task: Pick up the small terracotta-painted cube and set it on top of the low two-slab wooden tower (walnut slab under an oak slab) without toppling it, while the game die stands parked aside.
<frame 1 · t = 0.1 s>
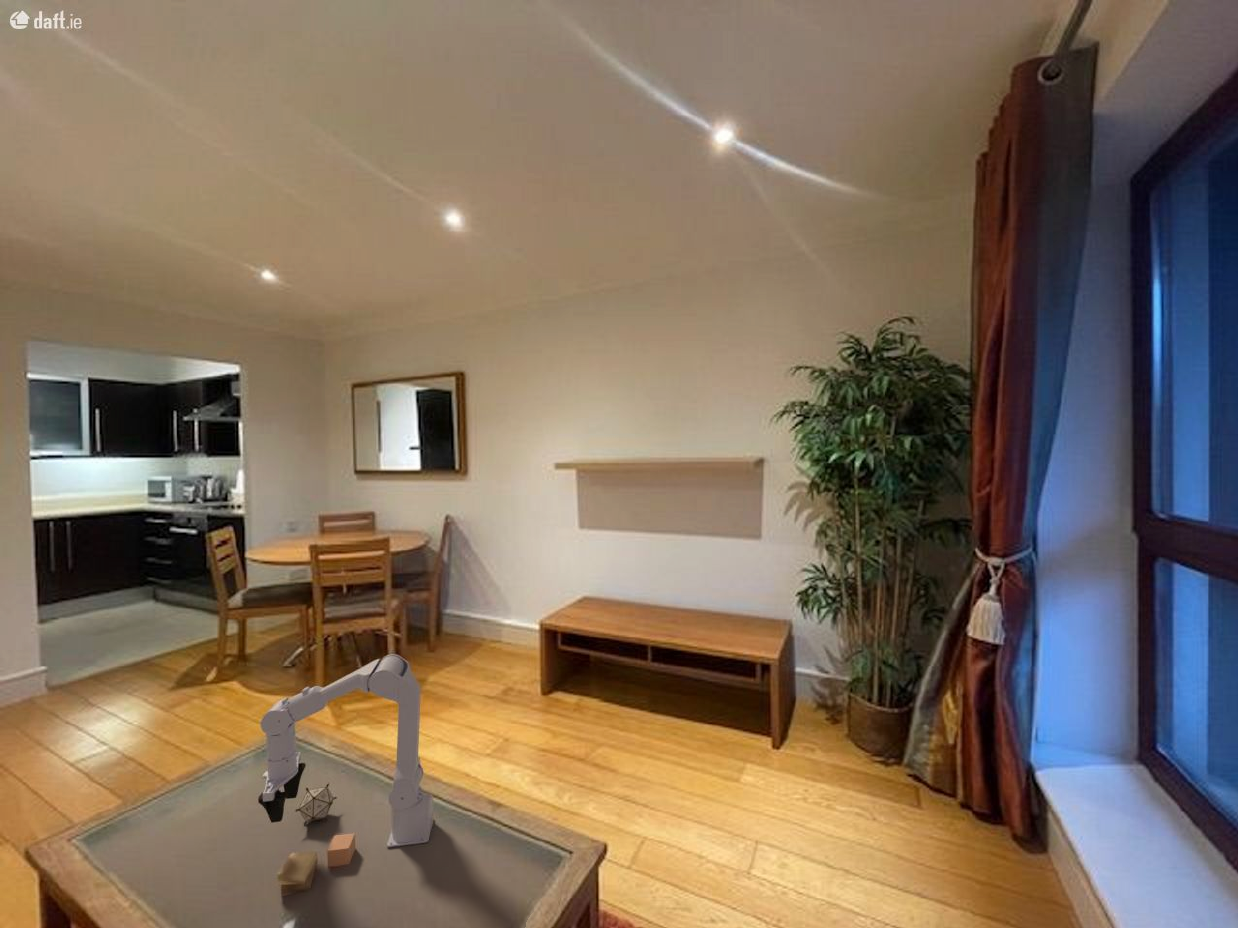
hand: (284, 808, 122), 10 cm above the table, fingers open, 7 cm apart
oak slab: (298, 873, 114), point 2 cm above the table, touching walnut slab
walnut slab: (299, 883, 114), on the table, touching oak slab
game die: (317, 819, 133), on the table
terracotta block: (341, 857, 121), on the table
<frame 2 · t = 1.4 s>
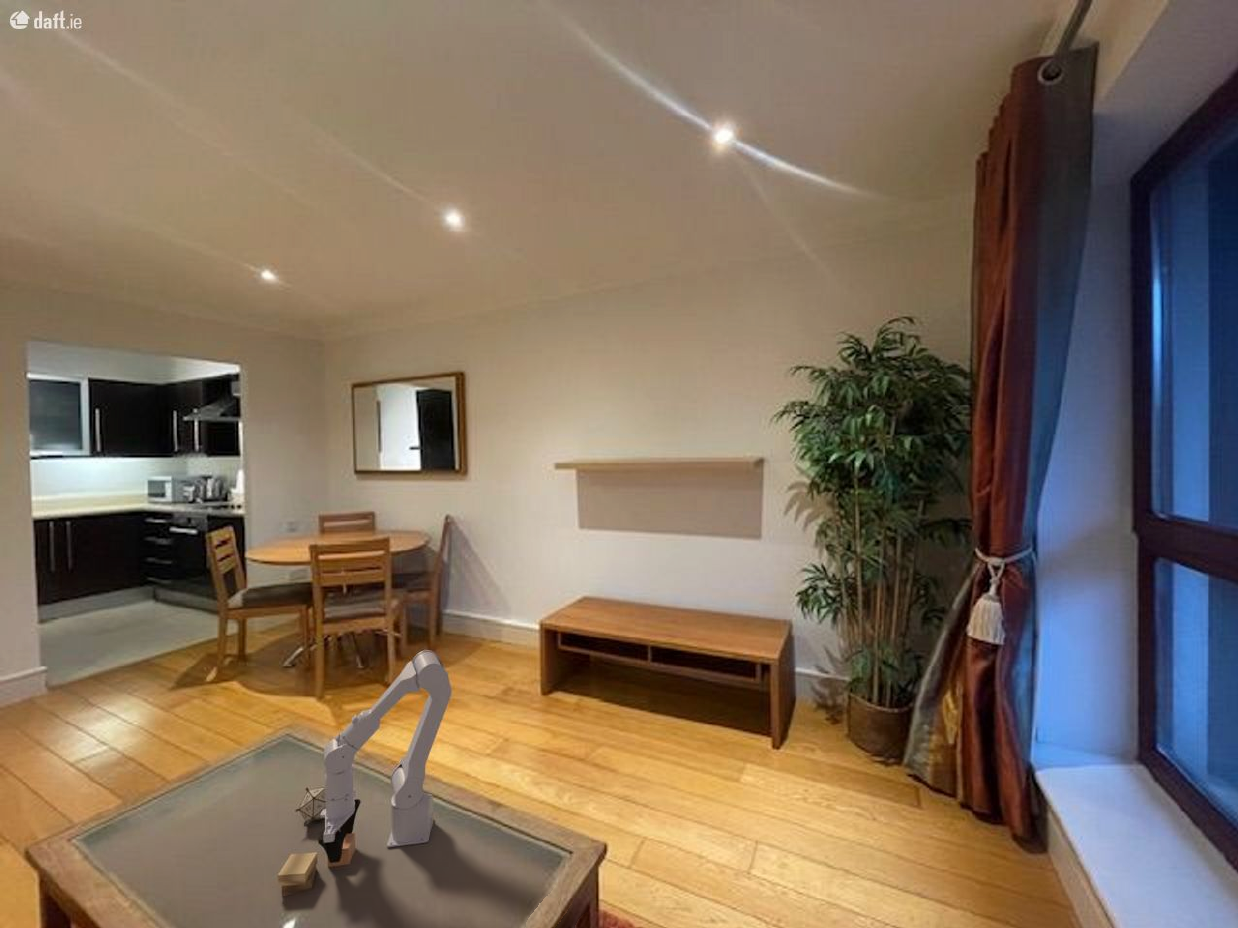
hand: (341, 847, 120), 2 cm above the table, fingers open, 7 cm apart
oak slab: (298, 874, 114), point 2 cm above the table
walnut slab: (299, 883, 114), on the table
everything else where it was.
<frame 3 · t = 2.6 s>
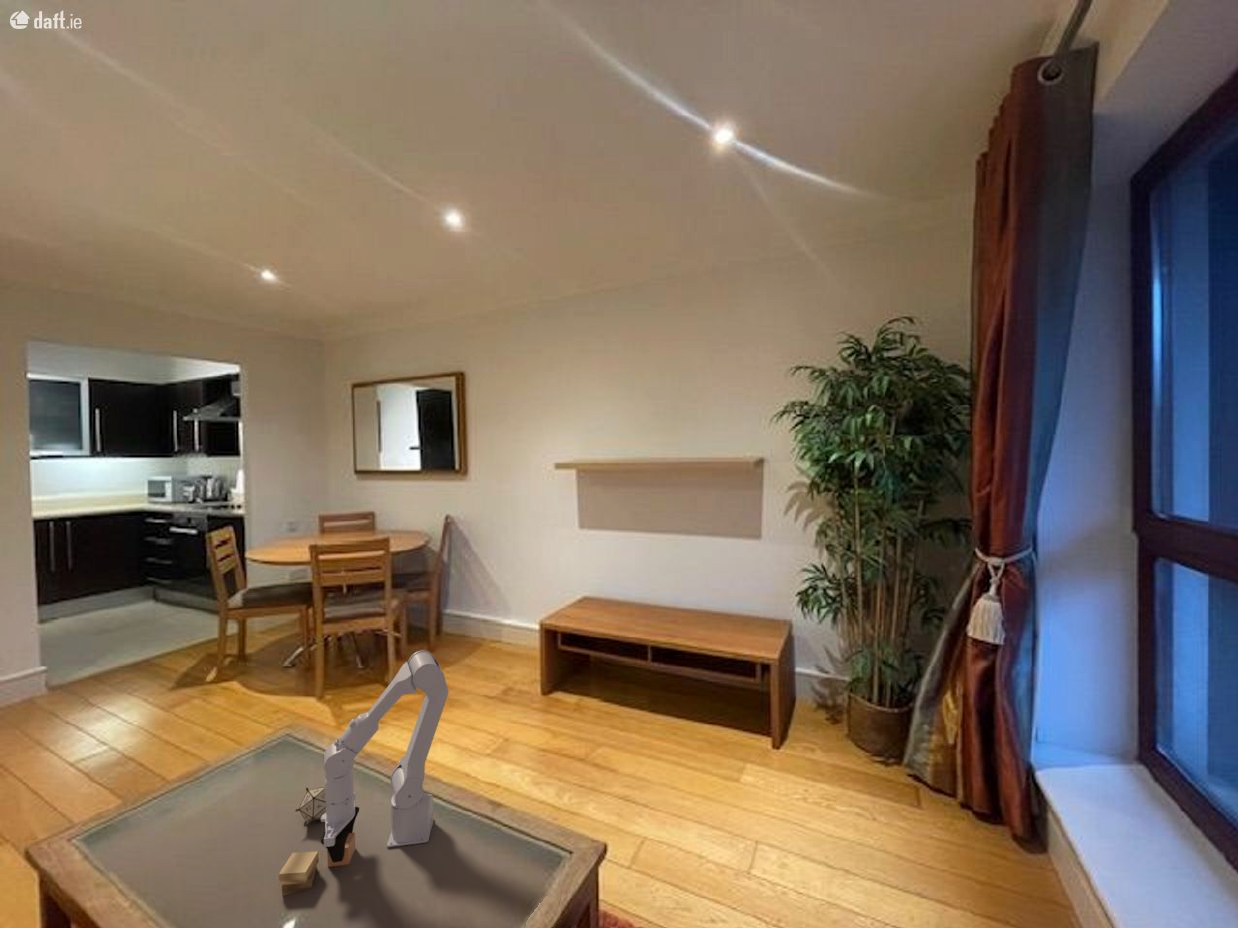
hand: (341, 851, 121), 1 cm above the table, fingers closed on terracotta block, 4 cm apart
terracotta block: (341, 857, 121), on the table, touching gripper
everything else where it was.
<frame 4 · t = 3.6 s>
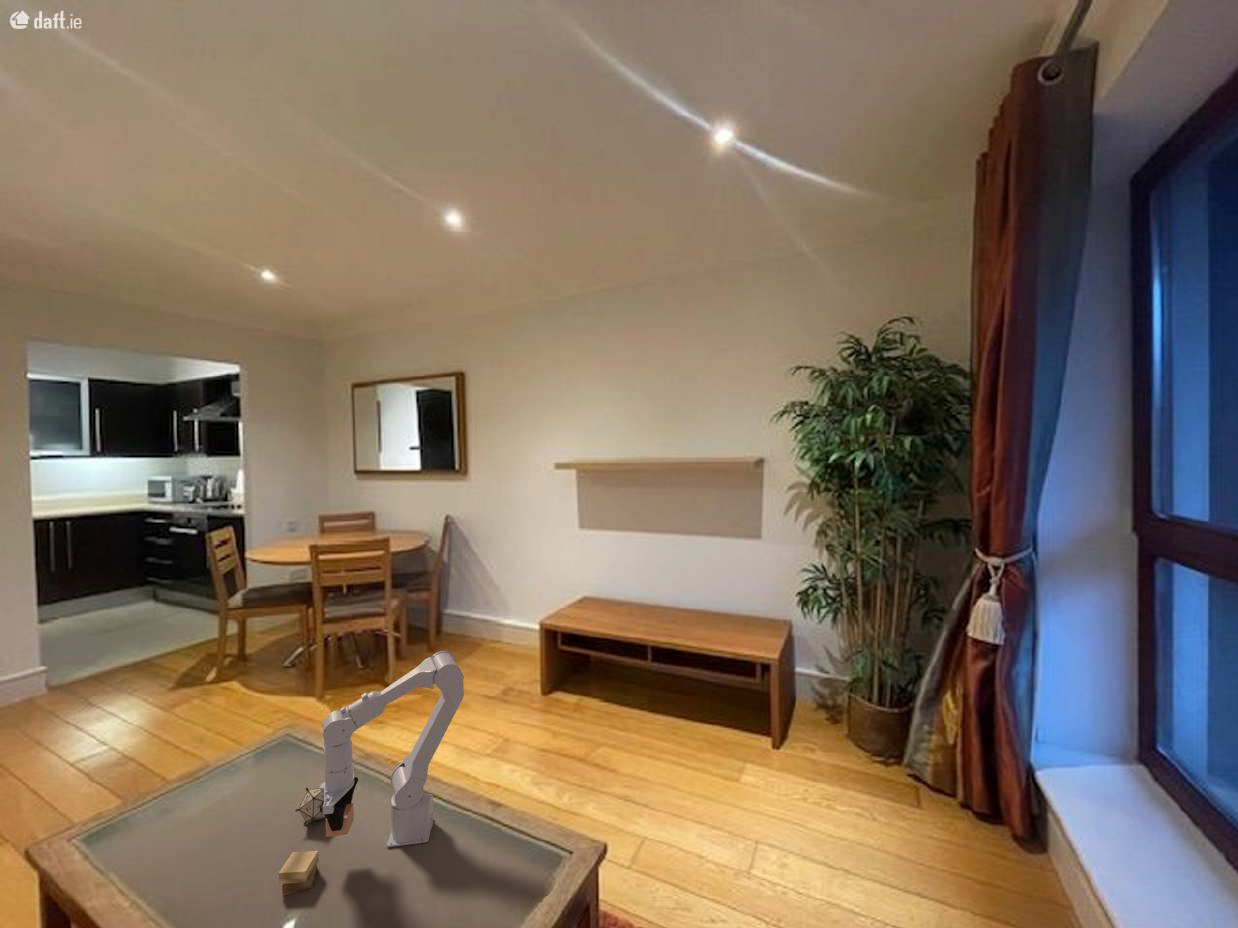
hand: (340, 820, 120), 9 cm above the table, fingers closed on terracotta block, 4 cm apart
terracotta block: (340, 827, 120), point 7 cm above the table, touching gripper
everything else where it was.
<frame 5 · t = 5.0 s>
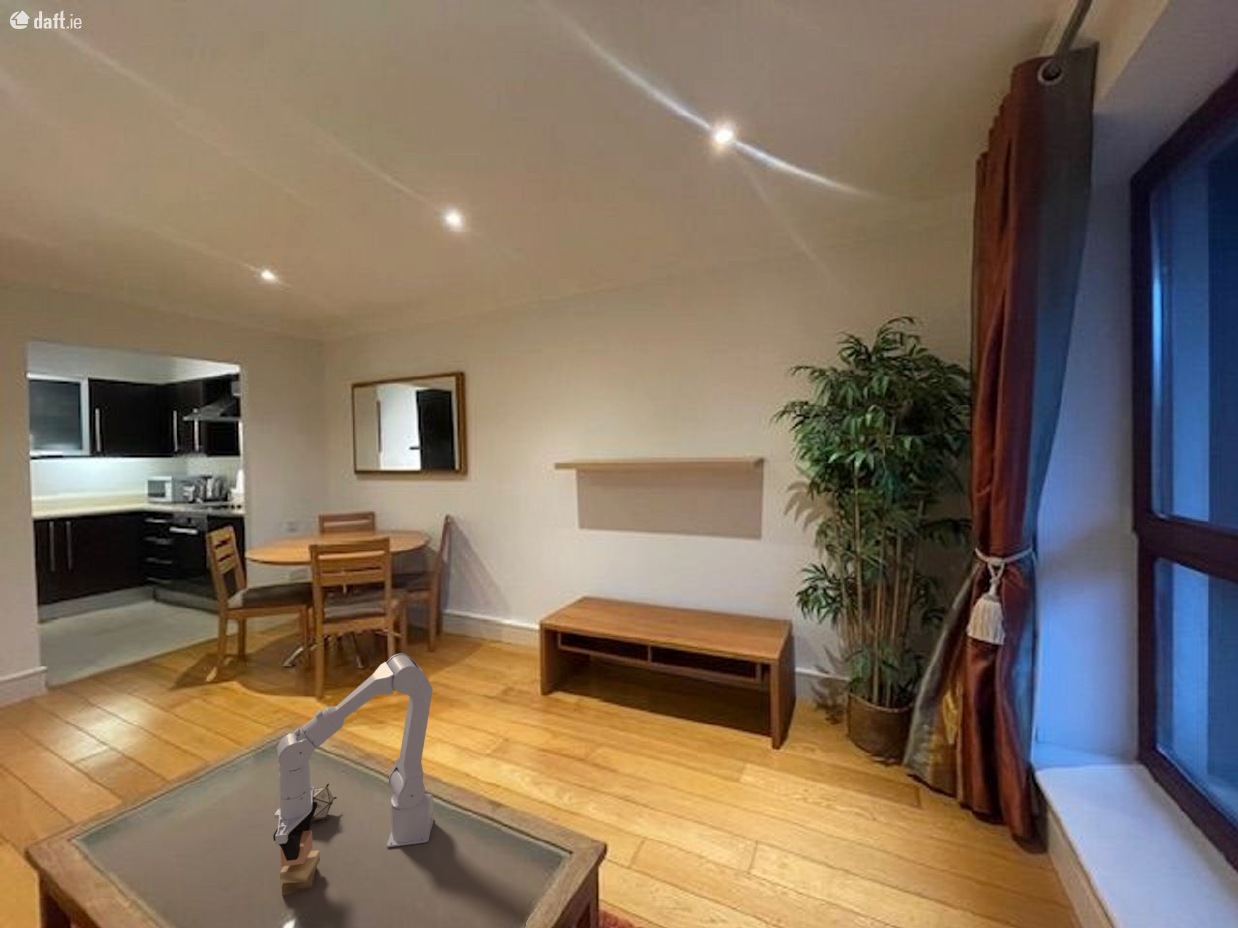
hand: (297, 849, 114), 8 cm above the table, fingers closed on terracotta block, 4 cm apart
oak slab: (300, 871, 114), point 2 cm above the table, touching walnut slab
walnut slab: (300, 882, 114), on the table, touching oak slab
terracotta block: (297, 856, 114), point 6 cm above the table, touching gripper
everything else where it was.
when the fingers open (8 cm above the table, at t = 5.4 s): terracotta block drops 1 cm, resting on oak slab.
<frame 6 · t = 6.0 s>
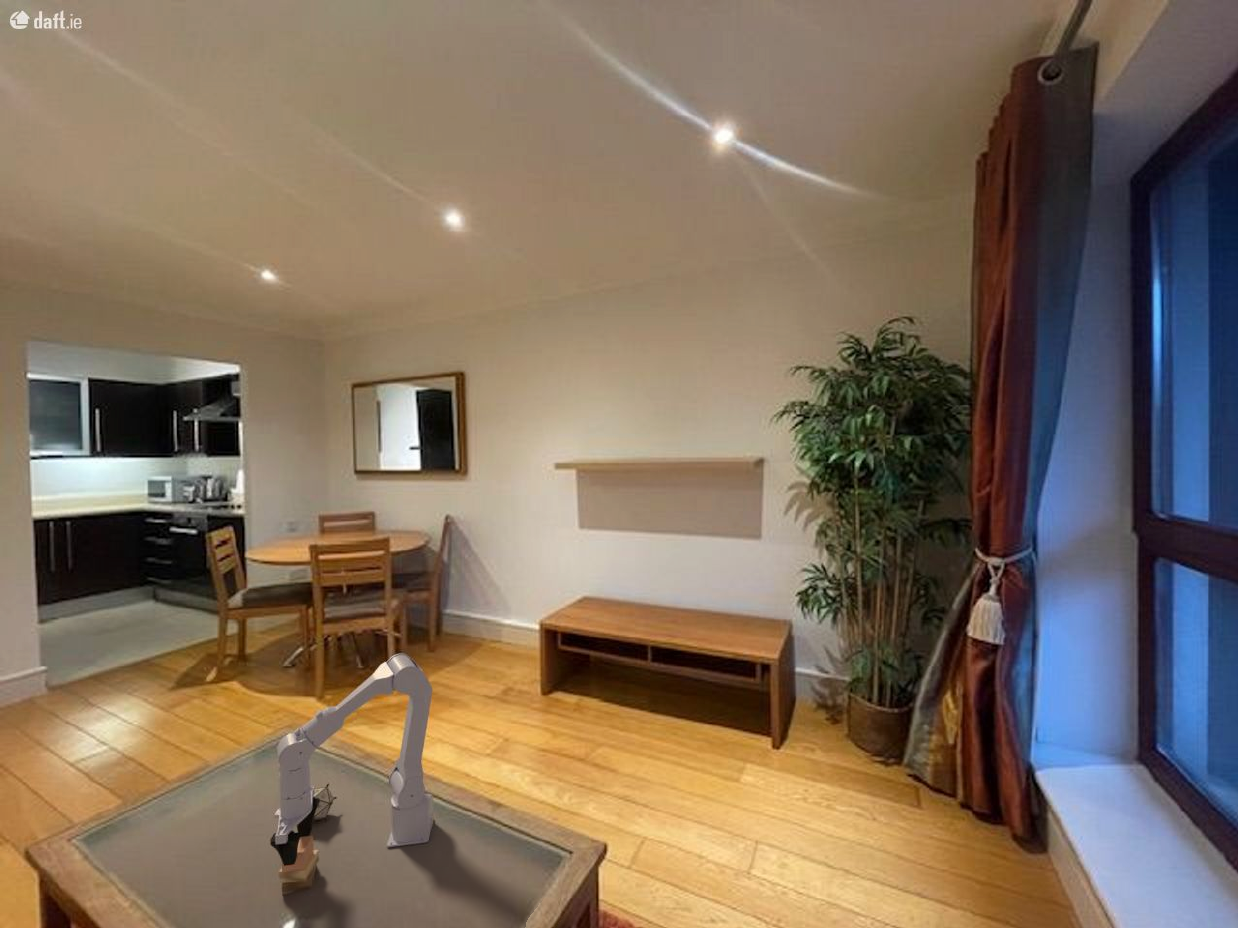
hand: (297, 849, 114), 8 cm above the table, fingers open, 7 cm apart
oak slab: (299, 871, 114), point 2 cm above the table, touching terracotta block, walnut slab
terracotta block: (298, 861, 114), point 5 cm above the table, touching oak slab
everything else where it was.
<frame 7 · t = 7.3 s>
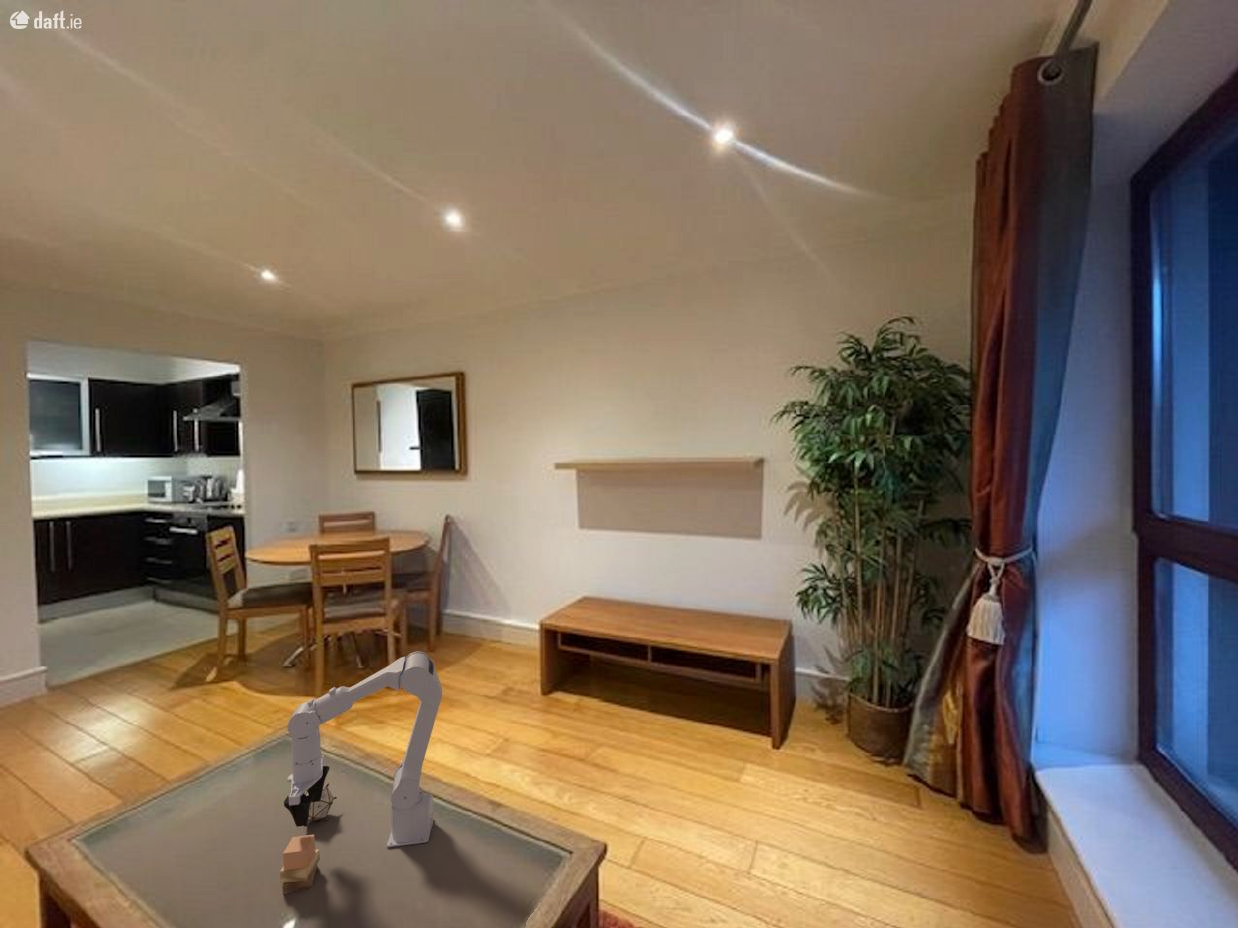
hand: (308, 812, 121), 10 cm above the table, fingers open, 7 cm apart
nothing on the table moved.
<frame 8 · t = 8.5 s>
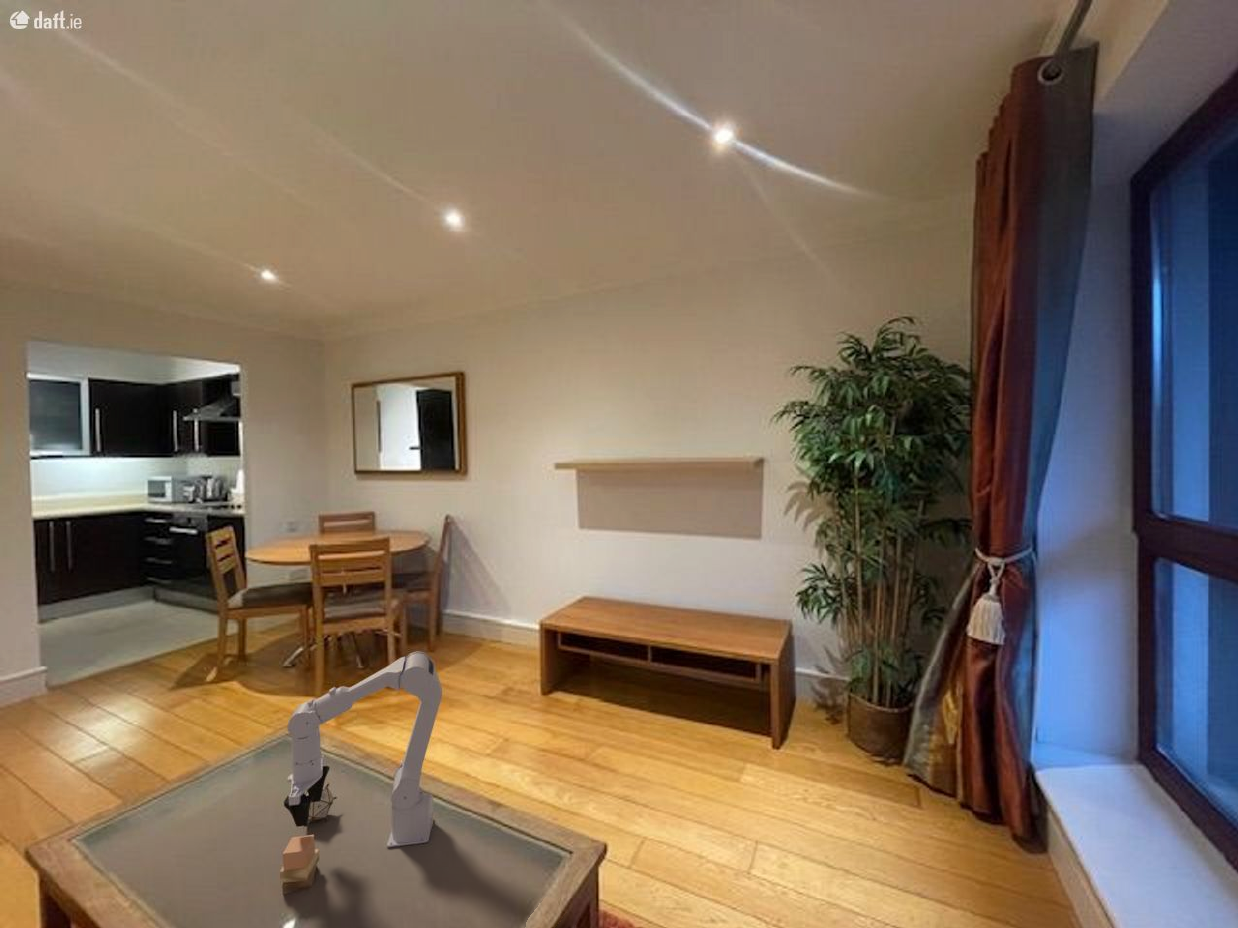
hand: (308, 812, 121), 10 cm above the table, fingers open, 7 cm apart
oak slab: (300, 870, 115), point 2 cm above the table, touching terracotta block
walnut slab: (300, 881, 115), on the table
everything else where it was.
at the end: terracotta block 0.2 cm off-centre on the oak slab, point 2.5 cm above the oak slab's base; oak slab tilted 0°; walnut slab moved 0.8 cm from its start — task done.
